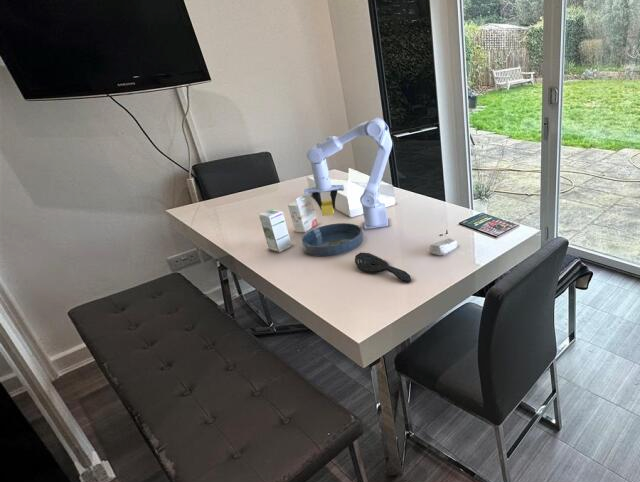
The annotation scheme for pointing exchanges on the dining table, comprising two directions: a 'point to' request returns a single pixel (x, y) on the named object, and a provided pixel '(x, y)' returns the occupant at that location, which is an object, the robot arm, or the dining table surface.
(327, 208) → the sponge
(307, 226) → the ink cartridge box
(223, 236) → the dining table surface
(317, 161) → the robot arm
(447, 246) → the soap bar
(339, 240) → the bowl
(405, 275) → the hairbrush
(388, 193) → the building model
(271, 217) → the syrup box
